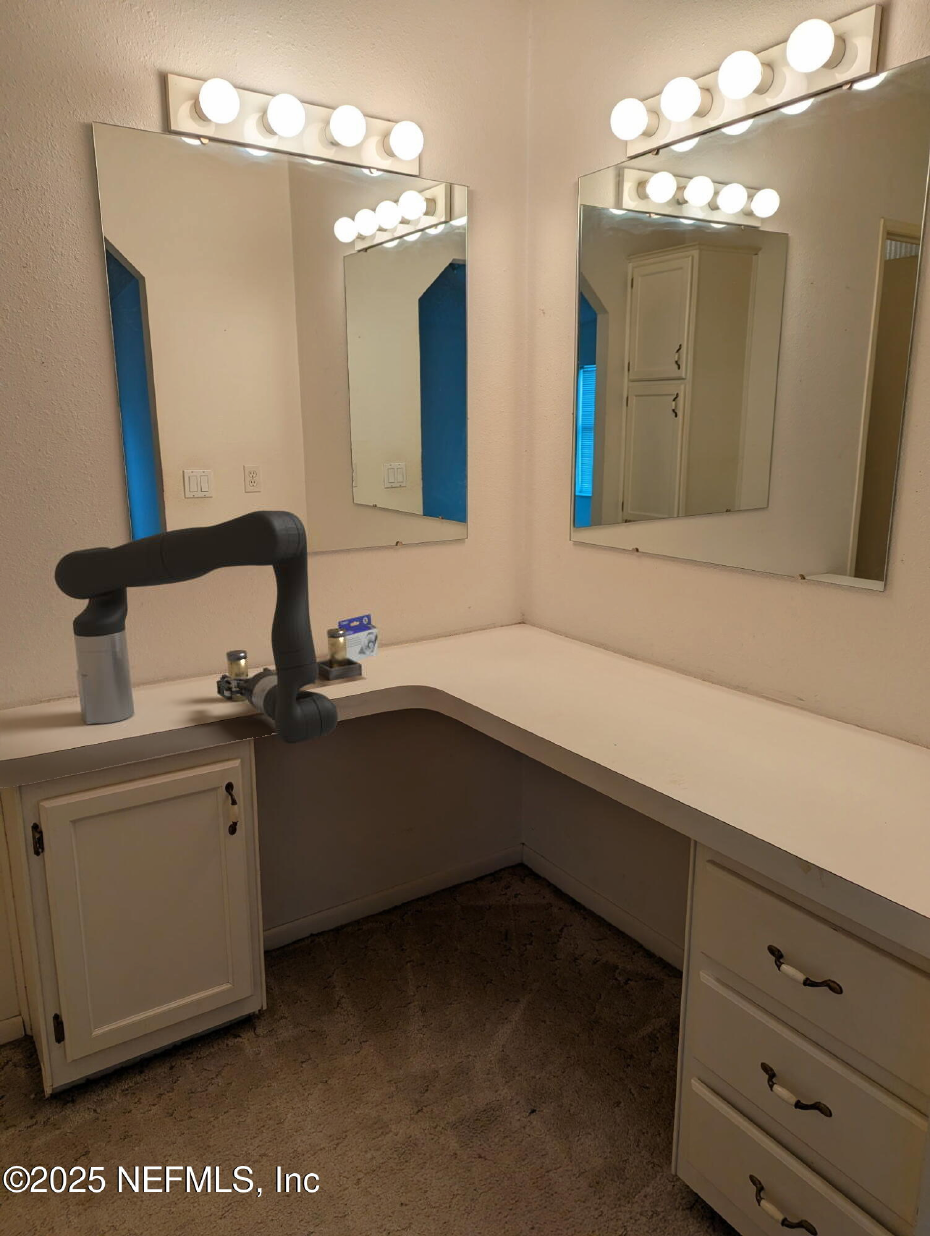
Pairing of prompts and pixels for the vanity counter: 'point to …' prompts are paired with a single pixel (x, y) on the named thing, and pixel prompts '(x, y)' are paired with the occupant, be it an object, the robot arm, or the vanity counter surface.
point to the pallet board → (336, 674)
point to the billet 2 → (337, 647)
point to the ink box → (360, 637)
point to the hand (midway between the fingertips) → (244, 675)
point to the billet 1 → (237, 668)
